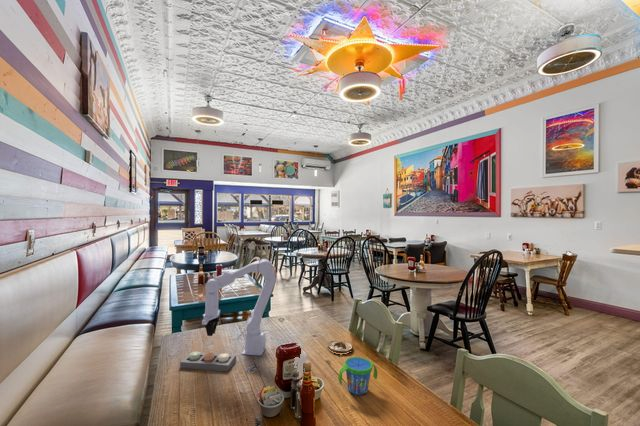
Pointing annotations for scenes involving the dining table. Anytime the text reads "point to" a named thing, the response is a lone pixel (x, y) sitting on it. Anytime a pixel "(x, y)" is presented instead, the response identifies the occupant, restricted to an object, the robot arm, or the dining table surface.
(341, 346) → the brown white round dish
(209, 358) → the terracotta button
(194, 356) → the sage button
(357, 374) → the snack cup
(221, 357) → the cream button
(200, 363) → the button board
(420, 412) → the dining table surface
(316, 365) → the dining table surface
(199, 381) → the dining table surface
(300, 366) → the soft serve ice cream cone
